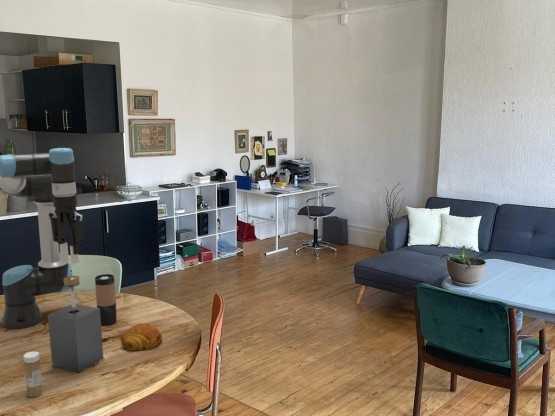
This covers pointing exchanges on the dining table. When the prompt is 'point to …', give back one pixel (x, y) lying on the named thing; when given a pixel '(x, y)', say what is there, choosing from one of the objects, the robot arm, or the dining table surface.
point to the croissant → (140, 337)
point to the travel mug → (106, 299)
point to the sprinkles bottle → (33, 374)
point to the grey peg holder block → (75, 338)
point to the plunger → (72, 289)
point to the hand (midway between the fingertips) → (70, 262)
